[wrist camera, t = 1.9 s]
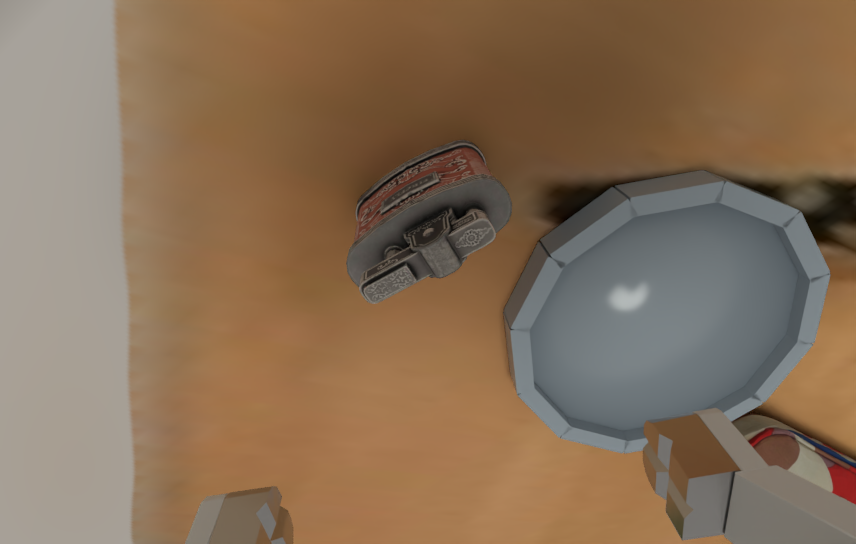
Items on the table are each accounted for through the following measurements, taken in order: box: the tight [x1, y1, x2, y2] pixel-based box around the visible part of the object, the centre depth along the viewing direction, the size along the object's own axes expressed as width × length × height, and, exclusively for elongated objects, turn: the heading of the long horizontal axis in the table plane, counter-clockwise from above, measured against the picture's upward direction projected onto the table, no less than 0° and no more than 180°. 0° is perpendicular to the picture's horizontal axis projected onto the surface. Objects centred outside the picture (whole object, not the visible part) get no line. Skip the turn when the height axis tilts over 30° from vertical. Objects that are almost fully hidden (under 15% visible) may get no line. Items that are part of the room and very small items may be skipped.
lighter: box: [346, 140, 512, 304], centre depth 25 cm, size 8×3×10 cm, turn 120°
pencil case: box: [731, 414, 856, 505], centre depth 40 cm, size 11×20×5 cm, turn 45°
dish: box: [503, 170, 830, 453], centre depth 33 cm, size 20×20×2 cm
